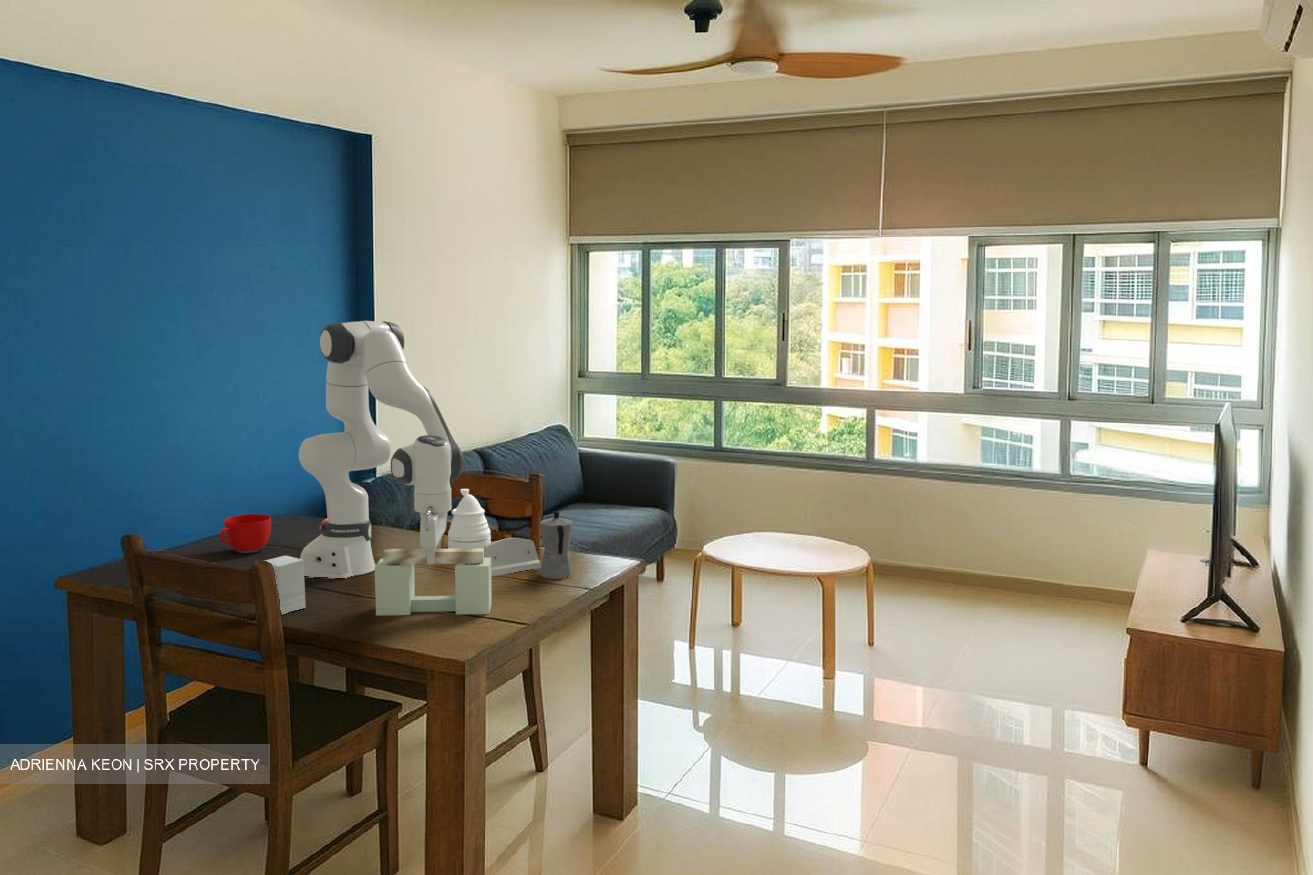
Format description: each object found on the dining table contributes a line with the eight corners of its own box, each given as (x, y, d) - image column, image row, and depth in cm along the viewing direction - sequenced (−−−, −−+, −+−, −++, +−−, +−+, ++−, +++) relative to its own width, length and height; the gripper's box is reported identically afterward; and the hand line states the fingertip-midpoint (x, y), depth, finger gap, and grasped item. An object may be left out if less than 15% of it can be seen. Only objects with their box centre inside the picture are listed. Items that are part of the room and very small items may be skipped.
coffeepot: (536, 569, 286) (536, 507, 284) (569, 567, 288) (569, 505, 286) (544, 584, 271) (544, 519, 269) (578, 582, 274) (579, 517, 271)
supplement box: (287, 603, 252) (285, 554, 250) (306, 609, 248) (304, 559, 246) (261, 611, 246) (259, 560, 244) (280, 617, 242) (278, 565, 240)
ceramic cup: (205, 557, 295) (203, 523, 293) (248, 544, 310) (247, 512, 309) (239, 562, 290) (237, 528, 288) (281, 548, 305) (280, 516, 304)
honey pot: (439, 548, 308) (438, 490, 306) (472, 541, 318) (471, 484, 315) (466, 555, 300) (465, 496, 297) (499, 548, 310) (499, 490, 307)
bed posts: (376, 615, 244) (374, 567, 242) (382, 605, 252) (381, 558, 250) (488, 613, 246) (488, 566, 244) (491, 603, 254) (491, 557, 252)
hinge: (489, 576, 278) (483, 541, 279) (482, 578, 282) (476, 543, 283) (543, 568, 288) (537, 533, 289) (535, 570, 291) (529, 535, 293)
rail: (383, 578, 245) (382, 552, 244) (385, 574, 248) (385, 549, 247) (483, 577, 247) (482, 551, 246) (484, 573, 250) (484, 548, 249)
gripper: (440, 512, 235) (441, 569, 237) (451, 494, 255) (451, 547, 257) (413, 512, 235) (414, 570, 237) (425, 494, 255) (426, 548, 257)
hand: (433, 558), depth 247 cm, fingers open, 8 cm apart
